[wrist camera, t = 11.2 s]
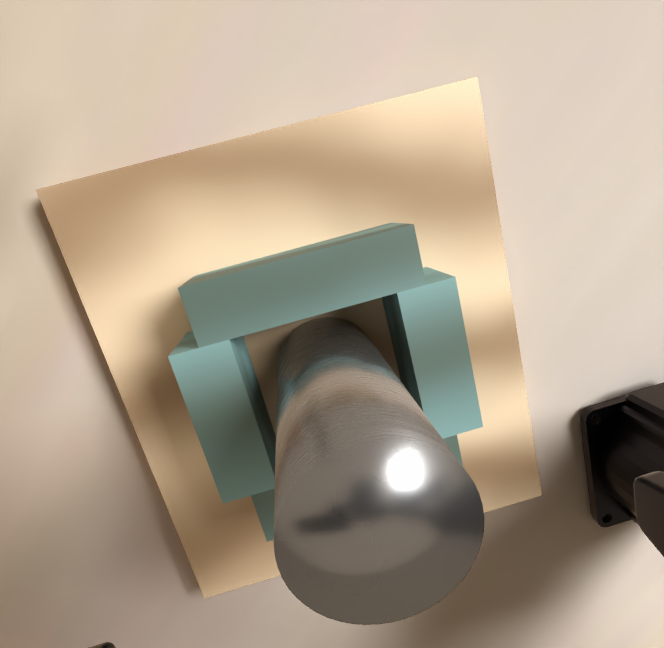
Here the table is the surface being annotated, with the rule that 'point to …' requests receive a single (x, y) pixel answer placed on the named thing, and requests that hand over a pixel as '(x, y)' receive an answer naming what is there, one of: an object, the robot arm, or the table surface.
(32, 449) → the table surface
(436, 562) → the steel pin
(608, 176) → the table surface
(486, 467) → the socket board
